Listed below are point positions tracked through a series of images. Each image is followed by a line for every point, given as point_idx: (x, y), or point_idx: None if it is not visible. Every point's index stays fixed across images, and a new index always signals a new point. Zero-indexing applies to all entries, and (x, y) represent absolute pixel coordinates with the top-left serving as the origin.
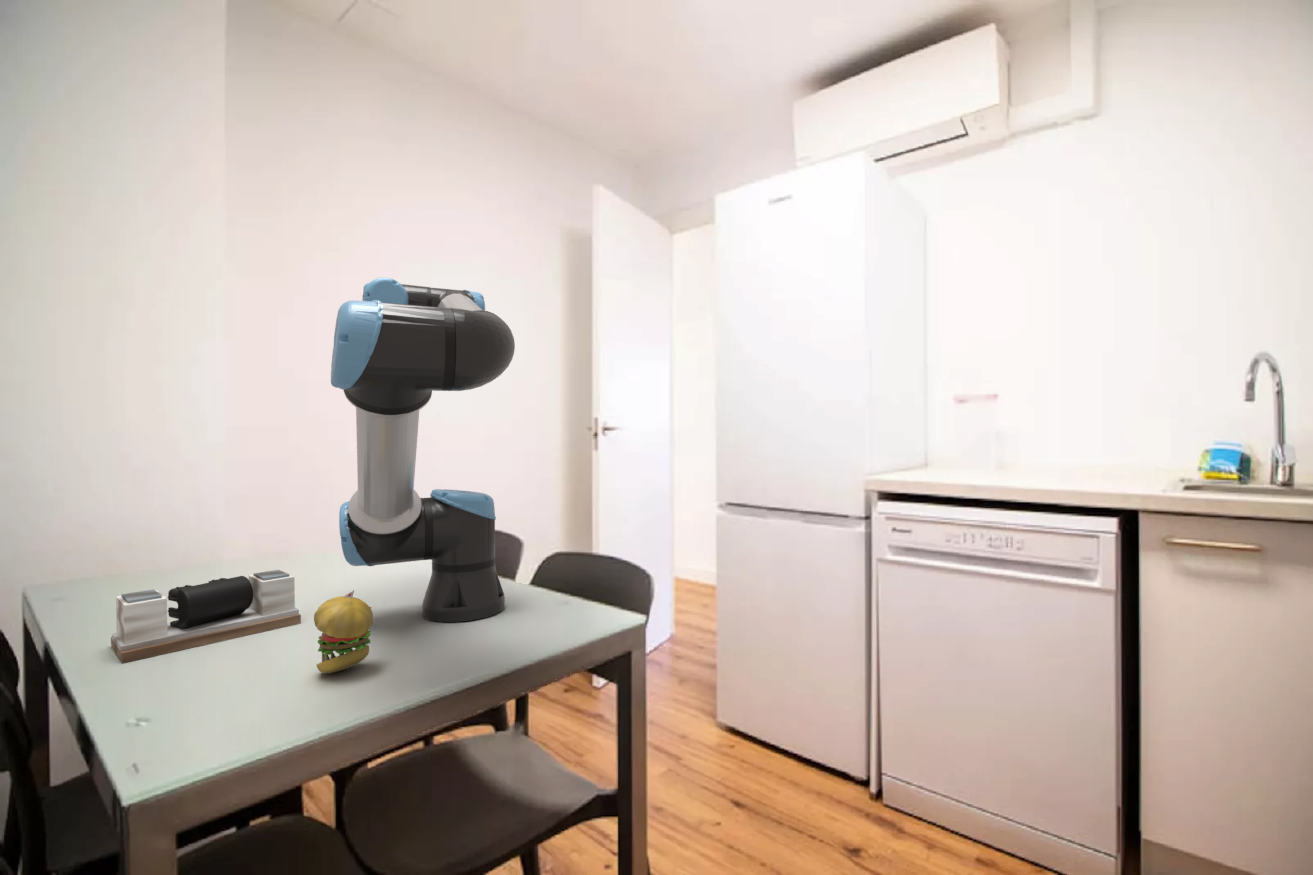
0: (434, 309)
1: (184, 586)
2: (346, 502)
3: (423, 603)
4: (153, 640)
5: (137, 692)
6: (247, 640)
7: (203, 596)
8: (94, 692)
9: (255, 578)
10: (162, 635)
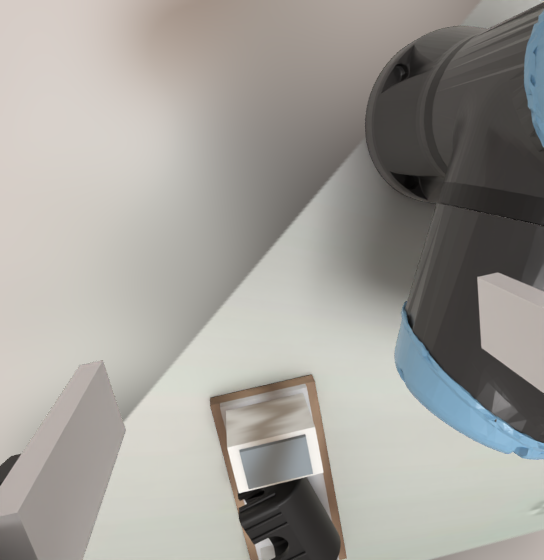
0: None
1: None
2: (533, 451)
3: (437, 202)
4: None
5: (459, 519)
6: (349, 438)
7: (332, 536)
8: (427, 551)
9: (279, 482)
10: None
